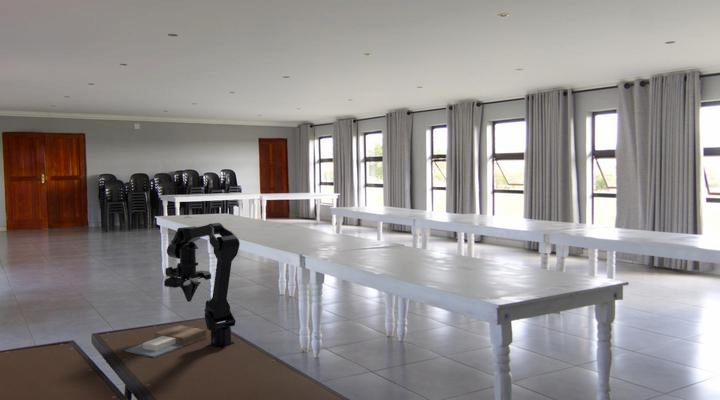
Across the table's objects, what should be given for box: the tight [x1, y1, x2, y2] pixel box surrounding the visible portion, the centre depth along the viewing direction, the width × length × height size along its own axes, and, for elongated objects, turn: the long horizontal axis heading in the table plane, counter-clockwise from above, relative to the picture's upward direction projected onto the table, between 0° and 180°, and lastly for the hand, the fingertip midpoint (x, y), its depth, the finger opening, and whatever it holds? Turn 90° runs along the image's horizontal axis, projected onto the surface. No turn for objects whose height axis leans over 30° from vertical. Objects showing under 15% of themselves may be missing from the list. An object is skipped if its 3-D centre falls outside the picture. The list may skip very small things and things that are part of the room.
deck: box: [154, 324, 207, 347], centre depth 208 cm, size 14×11×3 cm
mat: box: [124, 343, 184, 359], centre depth 198 cm, size 14×13×1 cm
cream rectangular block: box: [142, 336, 176, 351], centre depth 199 cm, size 6×9×2 cm, turn 152°
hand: (189, 301), depth 216 cm, fingers closed
